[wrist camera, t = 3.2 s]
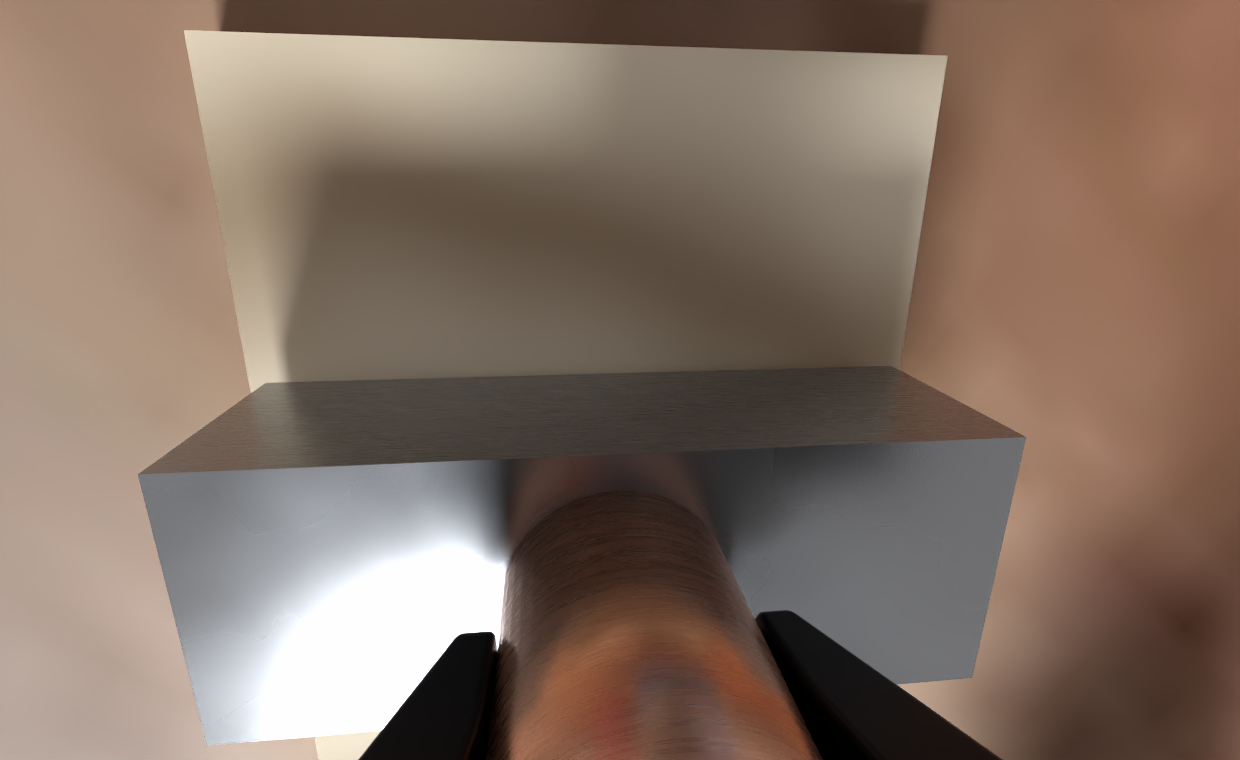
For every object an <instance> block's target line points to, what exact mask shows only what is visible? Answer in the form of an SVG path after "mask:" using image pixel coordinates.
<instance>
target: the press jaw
mask: <svg viewBox="0 0 1240 760" xmlns="http://www.w3.org/2000/svg"><path fill="white" fill-rule="evenodd" d="M1025 440H1026V437H1025V436H1023V435H1021V434H1019V433H1017V432H1015V431H1014V430H1012V429H1010V428H1008V427H1006V426H1004V425H1002V424H1000V423H998V422H997V421H995V420H993V419H991V418H989V417H987V416H985V415H983V414H981V413H979V412H978V411H976V410H974V409H972V408H970V407H968V406H966V405H964V404H962V403H961V402H959V401H957V400H955V399H953V398H951V397H949V396H947V395H945V394H944V393H942V392H940V391H938V390H936V389H934V388H932V387H930V386H928V385H926V384H925V383H923V382H921V381H919V380H917V379H915V378H913V377H911V376H909V375H908V374H906V373H904V372H902V371H900V370H898V369H896V368H894V367H892V366H864V367H827V368H790V369H753V370H717V371H680V372H643V373H606V374H570V375H533V376H496V377H459V378H423V379H386V380H349V381H312V382H276V383H265V384H263V385H262V386H261V387H259V388H258V389H256V390H255V391H254V392H252V393H251V394H249V395H248V396H247V397H245V398H244V399H242V400H241V401H240V402H238V403H237V404H235V405H234V406H233V407H231V408H230V409H229V410H227V411H226V412H224V413H223V414H222V415H220V416H219V417H217V418H216V419H215V420H213V421H212V422H210V423H209V424H208V425H206V426H205V427H203V428H202V429H201V430H199V431H198V432H197V433H195V434H194V435H192V436H191V437H190V438H188V439H187V440H185V441H184V442H183V443H181V444H180V445H178V446H177V447H176V448H174V449H173V450H171V451H170V452H169V453H167V454H166V455H164V456H163V457H162V458H160V459H159V460H158V461H156V462H155V463H153V464H152V465H151V466H149V467H148V468H146V469H145V470H144V471H142V472H141V473H139V474H138V477H139V481H140V485H141V489H142V492H143V496H144V500H145V504H146V508H147V512H148V516H149V520H150V524H151V528H152V532H153V536H154V540H155V544H156V547H157V551H158V555H159V559H160V563H161V567H162V571H163V575H164V579H165V583H166V587H167V591H168V595H169V599H170V602H171V606H172V610H173V614H174V618H175V622H176V626H177V630H178V634H179V638H180V642H181V646H182V650H183V654H184V658H185V661H186V665H187V669H188V673H189V677H190V681H191V685H192V689H193V693H194V697H195V701H196V705H197V709H198V713H199V716H200V720H201V724H202V728H203V732H204V736H205V740H206V744H207V746H212V745H223V744H234V743H245V742H256V741H268V740H279V739H290V738H301V737H312V736H324V735H335V734H346V733H357V732H369V731H380V730H382V729H383V728H384V727H385V725H386V724H387V723H388V722H389V720H390V719H391V718H392V717H393V715H394V714H395V713H396V712H397V710H398V709H399V708H400V706H401V705H402V704H403V703H404V701H405V700H406V699H407V698H408V696H409V695H410V694H411V693H412V691H413V690H414V689H415V688H416V686H417V685H418V684H419V683H420V681H421V680H422V679H423V678H424V676H425V675H426V674H427V672H428V671H429V670H430V669H431V667H432V666H433V665H434V664H435V662H436V661H437V660H438V659H439V657H440V656H441V655H442V654H443V652H444V651H445V650H446V649H447V647H448V646H449V645H450V644H451V642H452V641H453V640H454V638H455V637H456V636H458V635H459V634H462V633H471V632H485V631H491V632H493V633H494V635H495V636H496V642H497V657H496V667H495V677H494V687H493V697H492V707H491V717H490V726H489V736H488V746H487V756H486V760H823V759H822V757H821V755H820V753H819V751H818V749H817V746H816V744H815V742H814V740H813V738H812V736H811V734H810V732H809V730H808V728H807V726H806V724H805V722H804V720H803V717H802V715H801V713H800V711H799V709H798V707H797V705H796V703H795V701H794V699H793V697H792V695H791V693H790V691H789V688H788V686H787V684H786V682H785V680H784V678H783V676H782V674H781V672H780V670H779V668H778V666H777V664H776V662H775V659H774V657H773V655H772V653H771V651H770V649H769V647H768V645H767V643H766V641H765V639H764V637H763V635H762V633H761V630H760V628H759V626H758V624H757V622H756V620H755V618H756V616H757V615H758V614H759V613H760V612H765V611H779V610H789V611H792V612H794V613H796V614H797V615H799V616H800V617H801V618H803V619H804V620H806V621H807V622H809V623H810V624H811V625H813V626H814V627H816V628H817V629H818V630H820V631H821V632H823V633H824V634H825V635H827V636H828V637H830V638H831V639H833V640H834V641H835V642H837V643H838V644H840V645H841V646H842V647H844V648H845V649H847V650H848V651H850V652H851V653H852V654H854V655H855V656H857V657H858V658H859V659H861V660H862V661H864V662H865V663H867V664H868V665H869V666H871V667H872V668H874V669H875V670H876V671H878V672H879V673H881V674H882V675H883V676H885V677H886V678H888V679H889V680H891V681H892V682H893V683H895V684H907V683H918V682H929V681H940V680H951V679H963V678H972V675H973V671H974V666H975V662H976V657H977V653H978V649H979V644H980V640H981V635H982V631H983V626H984V622H985V617H986V613H987V609H988V604H989V600H990V595H991V591H992V586H993V582H994V577H995V573H996V569H997V564H998V560H999V555H1000V551H1001V546H1002V542H1003V537H1004V533H1005V529H1006V524H1007V520H1008V515H1009V511H1010V506H1011V502H1012V497H1013V493H1014V489H1015V484H1016V480H1017V475H1018V471H1019V466H1020V462H1021V457H1022V453H1023V449H1024V444H1025Z"/></svg>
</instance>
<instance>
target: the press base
mask: <svg viewBox="0 0 1240 760" xmlns="http://www.w3.org/2000/svg"><path fill="white" fill-rule="evenodd" d="M184 34H185V39H186V45H187V50H188V56H189V61H190V66H191V72H192V77H193V83H194V88H195V93H196V99H197V104H198V110H199V115H200V121H201V126H202V131H203V137H204V142H205V148H206V153H207V158H208V164H209V169H210V175H211V180H212V185H213V191H214V196H215V202H216V207H217V213H218V218H219V223H220V229H221V234H222V240H223V245H224V250H225V256H226V261H227V267H228V272H229V277H230V283H231V288H232V294H233V299H234V305H235V310H236V315H237V321H238V326H239V332H240V337H241V342H242V348H243V353H244V359H245V364H246V369H247V375H248V380H249V386H250V391H251V393H252V392H254V391H255V390H256V389H258V388H259V387H261V386H262V385H263V384H265V383H276V382H312V381H349V380H386V379H423V378H459V377H496V376H533V375H570V374H606V373H643V372H680V371H717V370H753V369H790V368H827V367H864V366H892V367H894V368H896V369H898V370H900V365H901V358H902V352H903V345H904V339H905V332H906V325H907V319H908V312H909V306H910V299H911V293H912V286H913V279H914V273H915V266H916V260H917V253H918V246H919V240H920V233H921V227H922V220H923V214H924V207H925V200H926V194H927V187H928V181H929V174H930V168H931V161H932V154H933V148H934V141H935V135H936V128H937V122H938V115H939V108H940V102H941V95H942V89H943V82H944V75H945V69H946V62H947V56H942V55H912V54H882V53H852V52H822V51H792V50H762V49H732V48H702V47H672V46H642V45H612V44H582V43H552V42H522V41H492V40H462V39H432V38H402V37H372V36H342V35H313V34H283V33H253V32H223V31H193V30H184ZM380 732H381V730H380V731H369V732H357V733H346V734H335V735H324V736H314V738H315V743H316V748H317V754H318V759H319V760H358V759H359V758H360V757H361V756H362V754H363V753H364V752H365V751H366V749H367V748H368V747H369V746H370V744H371V743H372V742H373V740H374V739H375V738H376V737H377V735H378V734H379V733H380Z"/></svg>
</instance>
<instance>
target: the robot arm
mask: <svg viewBox="0 0 1240 760" xmlns="http://www.w3.org/2000/svg"><path fill="white" fill-rule="evenodd" d="M755 620H756V622H757V624H758V626H759V628H760V630H761V633H762V635H763V637H764V639H765V641H766V643H767V645H768V647H769V649H770V651H771V653H772V655H773V657H774V659H775V662H776V664H777V666H778V668H779V670H780V672H781V674H782V676H783V678H784V680H785V682H786V684H787V686H788V688H789V691H790V693H791V695H792V697H793V699H794V701H795V703H796V705H797V707H798V709H799V711H800V713H801V715H802V717H803V720H804V722H805V724H806V726H807V728H808V730H809V732H810V734H811V736H812V738H813V740H814V742H815V744H816V746H817V749H818V751H819V753H820V755H821V757H822V759H823V760H1002V759H1001V758H999V757H998V756H997V755H995V754H994V753H992V752H991V751H990V750H988V749H987V748H985V747H984V746H983V745H981V744H980V743H978V742H977V741H975V740H974V739H973V738H971V737H970V736H968V735H967V734H966V733H964V732H963V731H961V730H960V729H958V728H957V727H956V726H954V725H953V724H951V723H950V722H949V721H947V720H946V719H944V718H943V717H941V716H940V715H939V714H937V713H936V712H934V711H933V710H932V709H930V708H929V707H927V706H926V705H925V704H923V703H922V702H920V701H919V700H917V699H916V698H915V697H913V696H912V695H910V694H909V693H908V692H906V691H905V690H903V689H902V688H900V687H899V686H898V685H896V684H895V683H893V682H892V681H891V680H889V679H888V678H886V677H885V676H883V675H882V674H881V673H879V672H878V671H876V670H875V669H874V668H872V667H871V666H869V665H868V664H867V663H865V662H864V661H862V660H861V659H859V658H858V657H857V656H855V655H854V654H852V653H851V652H850V651H848V650H847V649H845V648H844V647H842V646H841V645H840V644H838V643H837V642H835V641H834V640H833V639H831V638H830V637H828V636H827V635H825V634H824V633H823V632H821V631H820V630H818V629H817V628H816V627H814V626H813V625H811V624H810V623H809V622H807V621H806V620H804V619H803V618H801V617H800V616H799V615H797V614H796V613H794V612H792V611H789V610H779V611H765V612H760V613H759V614H758V615H757V616H756V618H755ZM496 657H497V642H496V636H495V635H494V633H493V632H491V631H485V632H471V633H462V634H459V635H458V636H456V637H455V638H454V640H453V641H452V642H451V644H450V645H449V646H448V647H447V649H446V650H445V651H444V652H443V654H442V655H441V656H440V657H439V659H438V660H437V661H436V662H435V664H434V665H433V666H432V667H431V669H430V670H429V671H428V672H427V674H426V675H425V676H424V678H423V679H422V680H421V681H420V683H419V684H418V685H417V686H416V688H415V689H414V690H413V691H412V693H411V694H410V695H409V696H408V698H407V699H406V700H405V701H404V703H403V704H402V705H401V706H400V708H399V709H398V710H397V712H396V713H395V714H394V715H393V717H392V718H391V719H390V720H389V722H388V723H387V724H386V725H385V727H384V728H383V729H382V730H381V732H380V733H379V734H378V735H377V737H376V738H375V739H374V740H373V742H372V743H371V744H370V746H369V747H368V748H367V749H366V751H365V752H364V753H363V754H362V756H361V757H360V758H359V759H358V760H486V756H487V746H488V736H489V726H490V717H491V707H492V697H493V687H494V677H495V667H496Z"/></svg>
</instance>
